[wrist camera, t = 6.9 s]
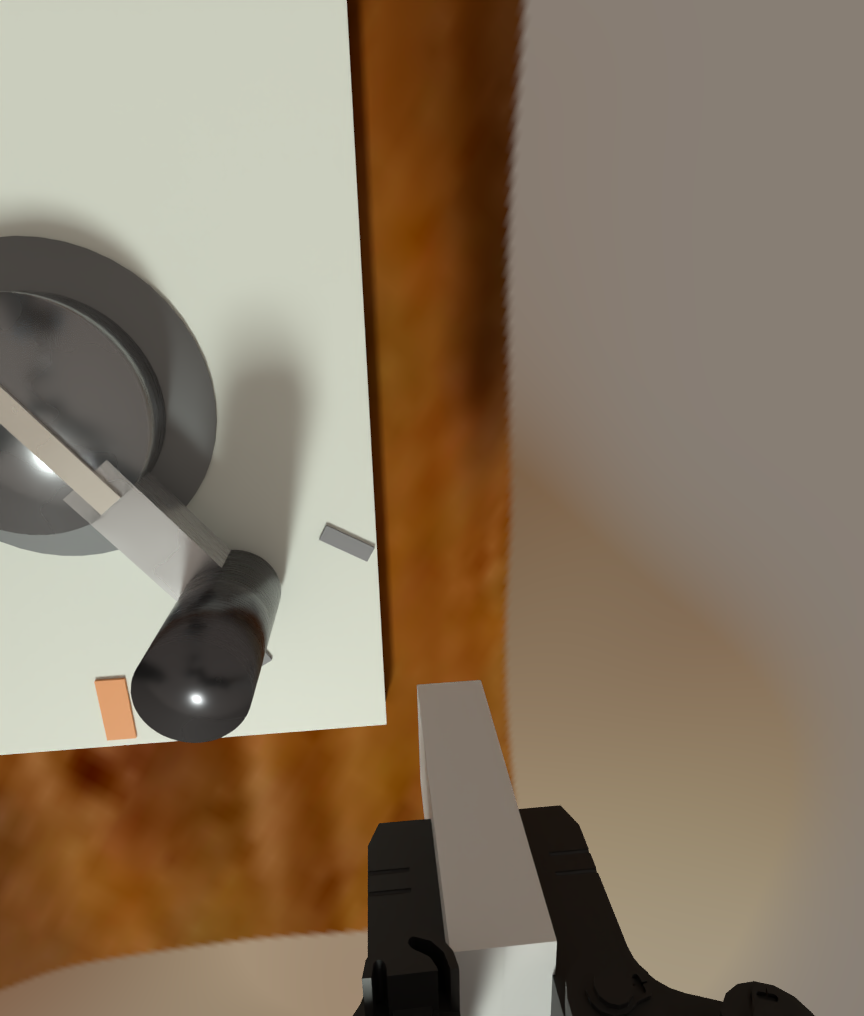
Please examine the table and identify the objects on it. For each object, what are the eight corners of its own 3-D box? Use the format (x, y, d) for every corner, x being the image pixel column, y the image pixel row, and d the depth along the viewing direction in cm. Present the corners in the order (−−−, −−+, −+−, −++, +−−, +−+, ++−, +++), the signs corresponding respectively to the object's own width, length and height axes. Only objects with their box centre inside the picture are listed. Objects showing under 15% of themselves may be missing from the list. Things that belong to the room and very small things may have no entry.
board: (-423, -78, 15) (-495, -110, 13) (343, -64, 16) (341, -93, 15) (-128, 742, 22) (-158, 769, 20) (385, 702, 23) (386, 726, 22)
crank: (-124, 395, 17) (-339, 443, 12) (35, 239, 16) (-122, 216, 11) (198, 672, 20) (140, 804, 15) (342, 554, 20) (333, 650, 14)
